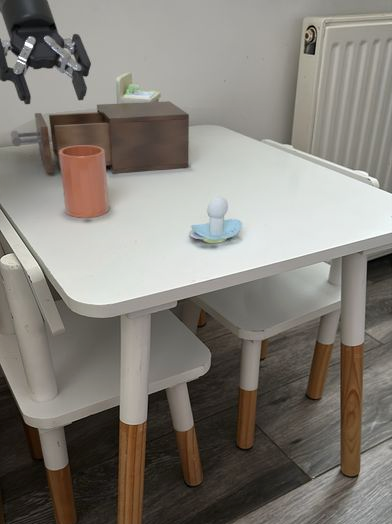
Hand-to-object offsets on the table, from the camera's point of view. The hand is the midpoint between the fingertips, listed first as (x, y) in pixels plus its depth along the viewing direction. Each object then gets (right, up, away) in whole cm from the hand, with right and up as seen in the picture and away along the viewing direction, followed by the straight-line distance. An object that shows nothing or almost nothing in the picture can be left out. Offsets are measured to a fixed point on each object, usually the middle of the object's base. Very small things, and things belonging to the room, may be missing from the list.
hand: (55, 99), depth 87 cm
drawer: (-3, -4, +18) cm, 19 cm away
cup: (+5, -17, 0) cm, 18 cm away
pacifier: (+24, -23, -8) cm, 34 cm away
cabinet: (+11, -2, +23) cm, 26 cm away
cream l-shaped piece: (+9, +7, +36) cm, 38 cm away
